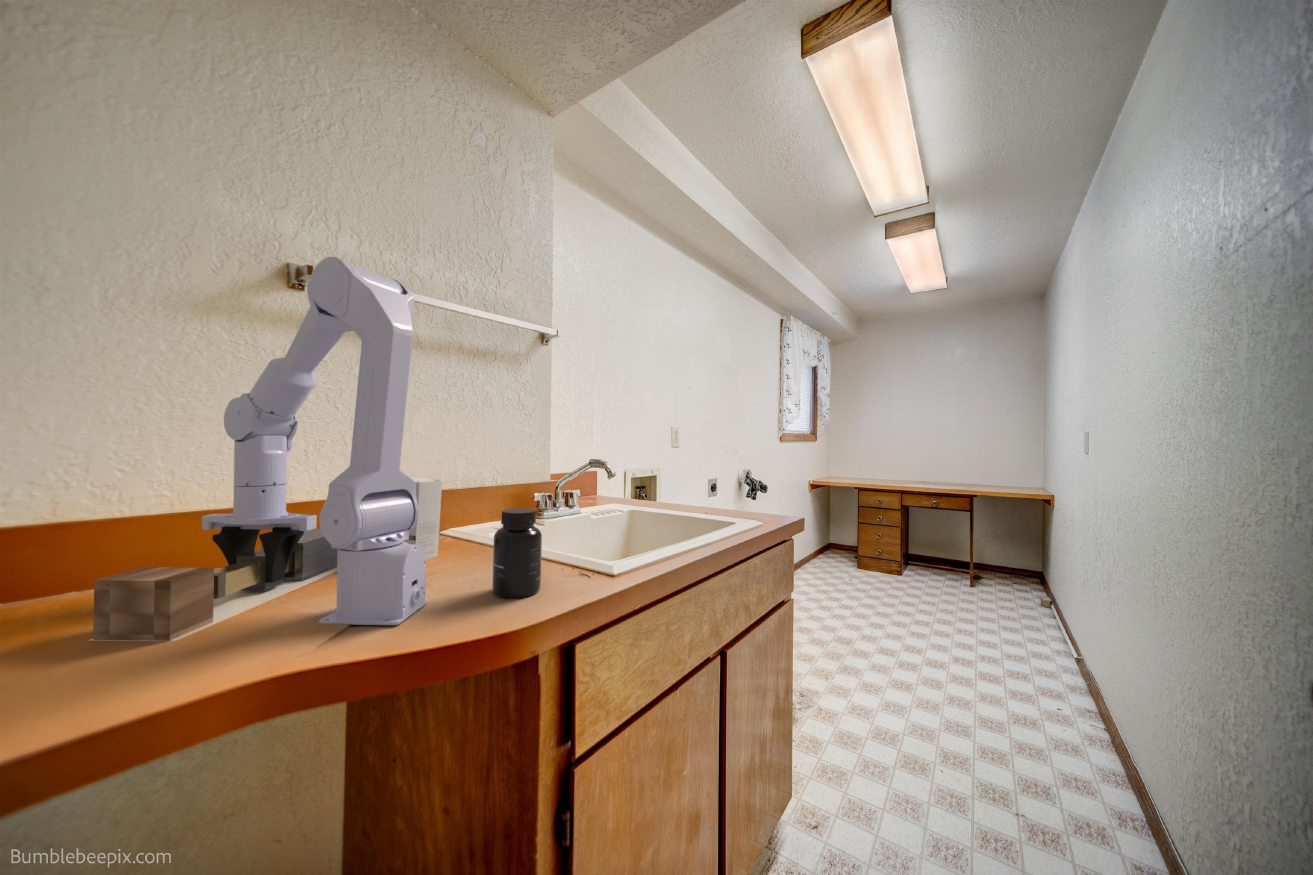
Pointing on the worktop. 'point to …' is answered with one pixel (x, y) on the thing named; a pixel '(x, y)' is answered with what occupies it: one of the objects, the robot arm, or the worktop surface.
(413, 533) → the skincare box
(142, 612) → the socket
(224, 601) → the board
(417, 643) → the worktop surface
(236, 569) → the plug
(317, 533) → the sleeve
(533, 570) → the supplement bottle
